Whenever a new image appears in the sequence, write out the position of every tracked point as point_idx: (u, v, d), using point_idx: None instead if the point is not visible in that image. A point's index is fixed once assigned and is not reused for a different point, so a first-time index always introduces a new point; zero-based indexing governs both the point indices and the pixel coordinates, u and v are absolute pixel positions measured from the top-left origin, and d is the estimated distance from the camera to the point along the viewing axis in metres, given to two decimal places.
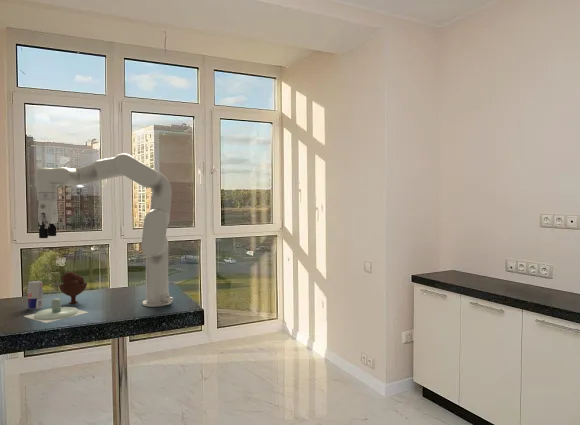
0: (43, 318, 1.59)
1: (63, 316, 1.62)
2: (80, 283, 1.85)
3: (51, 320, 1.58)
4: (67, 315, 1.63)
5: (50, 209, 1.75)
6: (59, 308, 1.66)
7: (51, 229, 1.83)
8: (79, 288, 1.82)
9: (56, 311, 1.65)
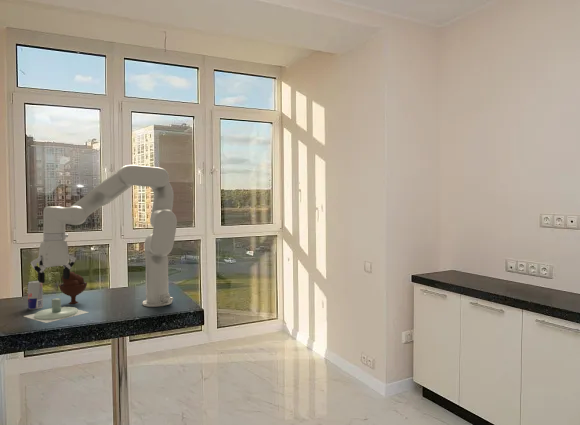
0: (43, 318, 1.59)
1: (63, 316, 1.62)
2: (80, 283, 1.84)
3: (51, 320, 1.58)
4: (67, 315, 1.63)
5: None
6: (59, 308, 1.66)
7: None
8: (79, 288, 1.82)
9: (56, 311, 1.65)
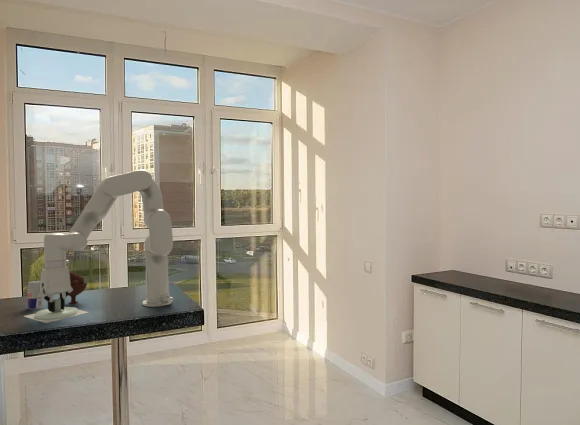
0: (43, 318, 1.59)
1: (63, 316, 1.62)
2: (80, 283, 1.85)
3: (51, 320, 1.58)
4: (67, 315, 1.63)
5: None
6: (59, 308, 1.66)
7: None
8: (79, 288, 1.82)
9: (56, 311, 1.65)
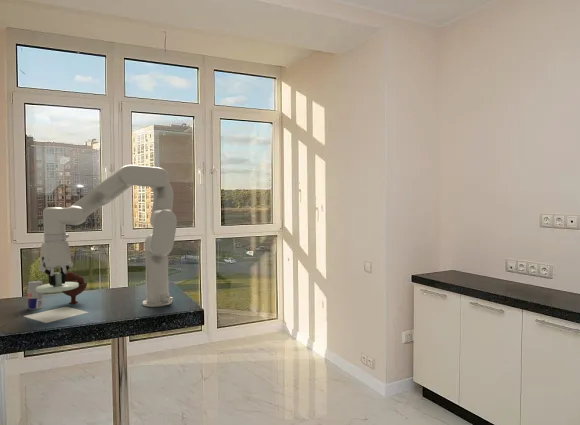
0: (44, 291, 1.59)
1: (64, 289, 1.62)
2: (80, 283, 1.85)
3: (51, 320, 1.58)
4: (68, 288, 1.63)
5: None
6: (60, 282, 1.66)
7: None
8: (79, 288, 1.82)
9: (57, 285, 1.65)
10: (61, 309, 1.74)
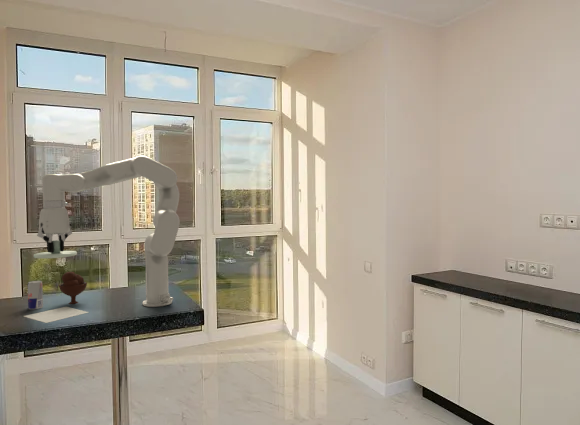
0: (42, 257, 1.59)
1: (62, 256, 1.61)
2: (80, 283, 1.85)
3: (51, 320, 1.58)
4: (66, 255, 1.62)
5: None
6: (58, 249, 1.66)
7: None
8: (79, 288, 1.82)
9: (55, 252, 1.65)
10: (61, 309, 1.74)
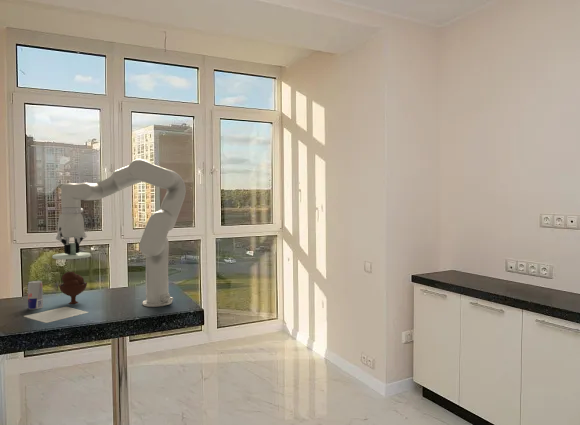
0: (60, 258, 1.77)
1: (78, 257, 1.79)
2: (80, 283, 1.85)
3: (51, 320, 1.58)
4: (82, 256, 1.81)
5: None
6: (74, 251, 1.84)
7: None
8: (79, 288, 1.82)
9: (71, 253, 1.83)
10: (61, 309, 1.74)
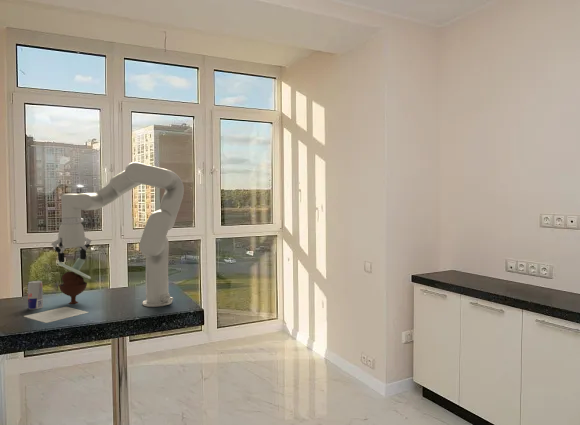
0: (66, 266, 1.78)
1: (81, 273, 1.80)
2: (80, 283, 1.85)
3: (51, 320, 1.58)
4: (84, 274, 1.81)
5: None
6: (79, 267, 1.85)
7: None
8: (79, 288, 1.82)
9: (76, 268, 1.84)
10: (61, 309, 1.74)
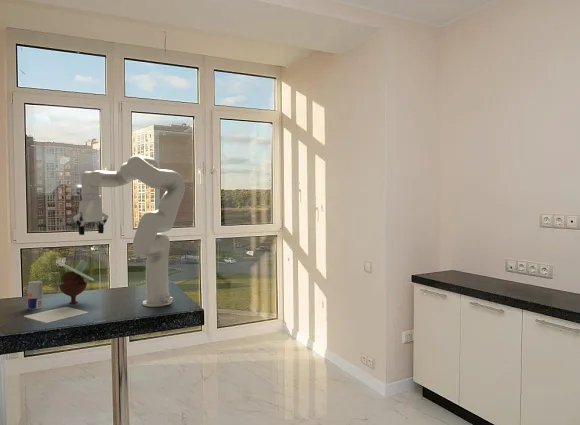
0: (69, 267, 1.79)
1: (84, 275, 1.81)
2: (80, 283, 1.85)
3: (51, 320, 1.58)
4: (87, 276, 1.82)
5: None
6: (82, 269, 1.86)
7: None
8: (79, 288, 1.82)
9: (79, 270, 1.85)
10: (61, 309, 1.74)
